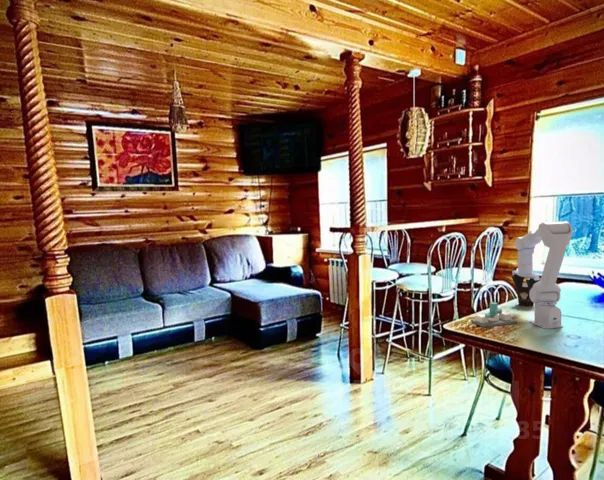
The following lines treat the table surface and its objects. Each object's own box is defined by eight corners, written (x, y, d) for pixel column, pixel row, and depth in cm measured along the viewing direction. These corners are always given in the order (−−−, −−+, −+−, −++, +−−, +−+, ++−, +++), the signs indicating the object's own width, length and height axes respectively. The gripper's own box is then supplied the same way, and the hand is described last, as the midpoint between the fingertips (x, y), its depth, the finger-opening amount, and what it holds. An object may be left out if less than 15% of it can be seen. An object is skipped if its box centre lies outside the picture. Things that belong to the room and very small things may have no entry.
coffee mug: (512, 304, 196) (511, 284, 195) (524, 301, 199) (524, 282, 198) (533, 309, 185) (533, 288, 184) (546, 307, 188) (546, 286, 187)
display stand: (504, 317, 176) (504, 310, 175) (516, 323, 168) (516, 315, 168) (471, 321, 173) (471, 313, 173) (482, 327, 165) (482, 318, 165)
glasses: (495, 310, 176) (495, 299, 175) (504, 311, 173) (504, 300, 173) (482, 317, 167) (482, 305, 167) (491, 318, 165) (491, 307, 164)
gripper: (545, 265, 172) (545, 295, 173) (521, 260, 186) (521, 288, 188) (531, 266, 171) (531, 297, 172) (508, 261, 185) (508, 290, 186)
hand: (525, 293), depth 180 cm, fingers open, 7 cm apart
